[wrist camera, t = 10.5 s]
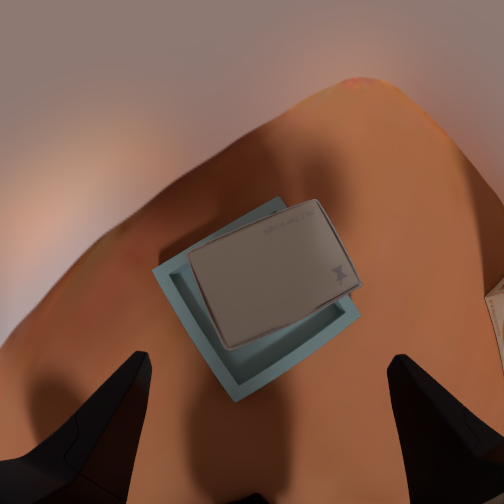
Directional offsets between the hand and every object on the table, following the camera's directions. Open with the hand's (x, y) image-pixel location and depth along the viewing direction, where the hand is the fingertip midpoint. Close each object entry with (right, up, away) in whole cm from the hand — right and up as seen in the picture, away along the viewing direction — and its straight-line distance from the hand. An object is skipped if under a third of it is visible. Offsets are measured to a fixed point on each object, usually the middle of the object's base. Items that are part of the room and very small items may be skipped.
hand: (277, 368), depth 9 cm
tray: (0, 0, +14) cm, 14 cm away
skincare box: (-1, 0, +14) cm, 14 cm away
